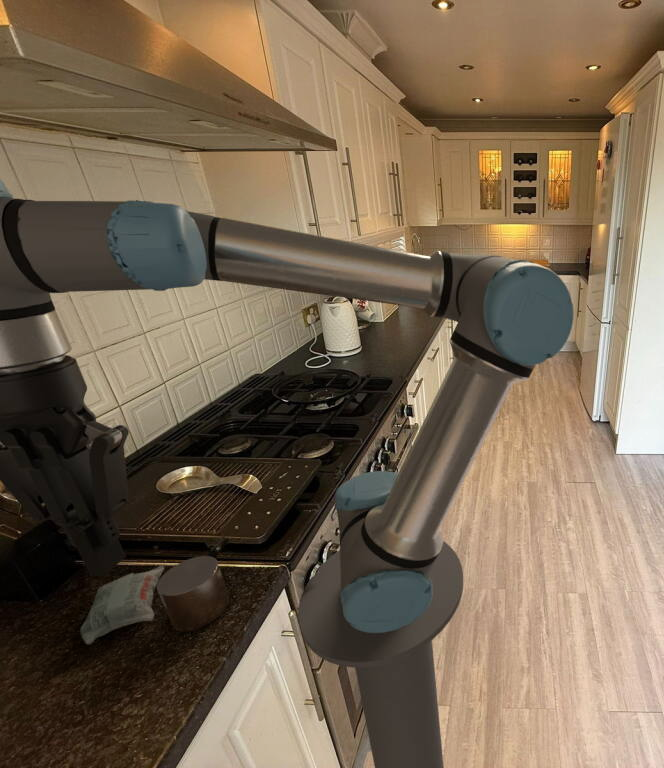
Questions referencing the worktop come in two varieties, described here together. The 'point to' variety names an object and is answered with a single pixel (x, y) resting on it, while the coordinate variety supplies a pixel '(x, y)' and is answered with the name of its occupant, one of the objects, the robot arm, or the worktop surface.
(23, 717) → the worktop surface
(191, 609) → the saucepan
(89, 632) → the packaged food
